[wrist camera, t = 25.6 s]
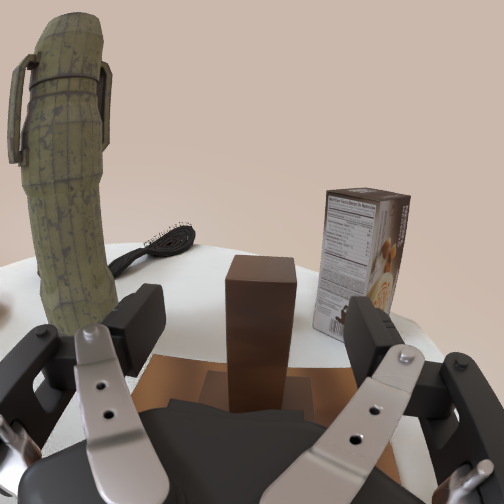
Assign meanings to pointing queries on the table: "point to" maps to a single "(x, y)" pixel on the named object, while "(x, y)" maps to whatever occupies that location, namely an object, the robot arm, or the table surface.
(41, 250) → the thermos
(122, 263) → the hairbrush
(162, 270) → the table surface
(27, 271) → the table surface
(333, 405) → the cutting board
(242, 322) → the wooden post on base
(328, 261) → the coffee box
